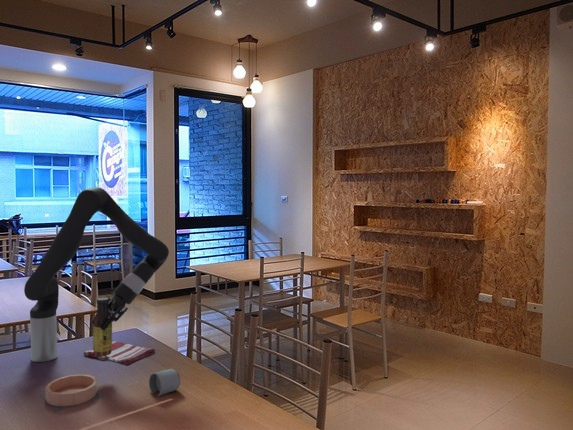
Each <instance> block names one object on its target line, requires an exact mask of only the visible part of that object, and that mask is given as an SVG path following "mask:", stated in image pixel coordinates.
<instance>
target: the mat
mask: <svg viewBox="0 0 573 430" xmlns="http://www.w3.org/2000/svg"><path fill="white" fill-rule="evenodd" d="M40 397H41V398H42V399H43V400H44V401H45V402H46V403H47V401H46V399H45V393H42V394H40ZM102 398H105V396H104V395H103V394H102V393H101V392H99V391H98V390H97V394H96V396H95V397H94V398H92V399H91V400H89V401H87V402H85V403H84V404H86V403H88V402H92V401H96V400H99V399H102ZM48 405H49V406H50V408H51V409H52V410H53V411H54V412H56V413H57V412H59V411H63V410H65V409H68V408H72V407H75V406H79V405H80V404H78V405H74V406H67V407H57V406H52V405H50V404H48Z"/></svg>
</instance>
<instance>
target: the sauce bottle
mask: <svg viewBox="0 0 573 430" xmlns="http://www.w3.org/2000/svg"><path fill="white" fill-rule="evenodd" d="M109 298H110V297H109ZM109 298H107V297H98V298H96V307H97V309H96V313H95V315H94V317H93V320H94V324H93V328H92V329H93V331H92V333H93V334H92V335H93V337H92V339H93V341H92V346H93V347H92V349H93V351H94V355H95V356H99V357H102V356H107V355H110V354H111V351H112V341H113V322H111V323H110V324H109V326H108V327H107V328H106V329H105V330H102V329H101V328H100V327H99V326H100V325H101V324H102V322H103V321H104V320H105V319H106V318H107V317H108V315H109V309H108V306H109V305H108V303H109Z"/></svg>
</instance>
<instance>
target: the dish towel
mask: <svg viewBox="0 0 573 430" xmlns="http://www.w3.org/2000/svg"><path fill="white" fill-rule="evenodd" d="M155 352H156V349H154V348H148V347H142V346H137V345H133V344H129V343H125V342H122V341H114V340H112V351H111V354H110V355H107V356H102V357H99V356H95V355H94V351H93V348H92V349H90V350H85V351H84V352H83V355H84V356H86V357H88V358H92V359H96V360H101V361H105V362H107V361H110V362H115V363H118V364H122V365H124V366H128V365H129V364H131V363H132V364H133V363H134V362H136V361H139V360H141V359H143V358H145V357H148V356H149V355H153V354H155Z"/></svg>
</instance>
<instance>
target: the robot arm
mask: <svg viewBox="0 0 573 430" xmlns="http://www.w3.org/2000/svg"><path fill="white" fill-rule="evenodd" d="M98 212H99V213H101V214H102V215H104V216H106V217H108V219H109V220H111V222H112V223H113V224H114V226H115V227H116V229H117V230H118V232H119V233H120V234H121V235H122V237H124V239H125V240H127V241H128V242H129V243H131V245H133V246H134V247H136V248H137V249H140V250H142V251H143V252H145V254H146V255H145V257H144V258H143V260H141V261H140V262H139V263H138V264H137V265H135V267H134V268H133V269H132V270H131V272H129V273H128V274H127V275H126V276H125V277H124V278H123V279H122V281H121V282H119V284H118V285H117V287H116V288H115V289H114V290H113V291H112V293H113V294H114V296H113V297H112V298H110V297H109V296H108V297H106V298H109V303H108V305H109V306H108V309H109V315H108V317H107V318H106V319H105V320H104V321H103V322H102V324H101V325H100V326H99V327H100V328H101V329H102V330H105V329H106V328H107V327H108V326H109V324H110V323H111V322H112V323H113V322H117V321H119V320H120V318H122V316H123V315H124V314H125V313H126V312H127V311H128V310H129V308H128V307H127V306H126V305H131V304H132V303H133V301H134V300H135V299H136V297H137V296H138V295H140V293H141V292H142V290H143V289H144V288H145V286H146V284H147V283H148V282H149V281H150V280H151V278H152V277H153V276H154V274H155V273H156V271H158V270H159V268H161V267H162V266H163V265H164V264H165V262H166V261H167V260H168V257H169V254H170V253H169V252H170V250H169V248H168V246H167V245H166V243H164V242H163V241H162V240H160V239H158V238H157V237H155V236H153V235H152V234H150V232H148V231H147V229H144V227H142V226H141V225H140V224H139V223H137V222H136V221H135V220H134V219H133V218H132V217H130V215H129V214H127V212H125V210H123V208H122V207H121V206H119V204H118V203H117V202H116V201H115V199H113V197H112V196H111V195H110V194H109V193H108V192H107V191H106V190H105V189H104V188H102V187H99V186H94V187H89V188H86V189H84V190H82V191H81V192H80V193H79V194H78V195H77V197H76V200H75V201H74V204H73V206H72V207H71V210H70V213H69V214H68V216H67V218H66V219H65V221H64V222H63V225H62V226H61V228H60V229H59V231H58V232H57V234H56V236H55V237H54V239H53V240H52V242H51V244H50V246H49V247H48V249H47V251H46V252H45V254H44V255H43V258H42V259H41V262H40V263H39V264H38V266H37V267H36V269H35V270H34V271H33V273H32V274H31V275H30V276H29V277H28V279H27V280H26V282H25V284H24V288H23V289H24V290H23V291H24V295H25V298H27V300H30V301H31V302H32V301H34V302H35V301H36V302H35V304H34V305H33V307H31V309H30V310H29V320H30V321H29V322H30V323H29V324H30V325H29V326H30V356H31V358H30V359H31V361H32V362H34V363H35V362H36V363H43V362H49V361H52V360H56V358H58V334H57V333H58V328H57V327H58V326H57V323H58V322H57V309H58V307H59V297H60V296H59V293H60V292H59V291H60V290H59V282H58V279H57V278H56V277H55V275H56V274H57V273H58V272H59V271H60V270H61V269H62V268H64V266H65V265H67V264H68V263H69V262H70V261H71V260H72V259H73V258H74V256H75V255H76V254H77V252H78V251H79V249H80V247H81V245H82V242H83V239H84V233H85V230H86V227H87V225H88V224H89V222H90V220H91V219H92V218H93V217H94V215H95V214H97V213H98ZM91 324H93V325H94V319H93V320H92V321H91Z"/></svg>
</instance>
